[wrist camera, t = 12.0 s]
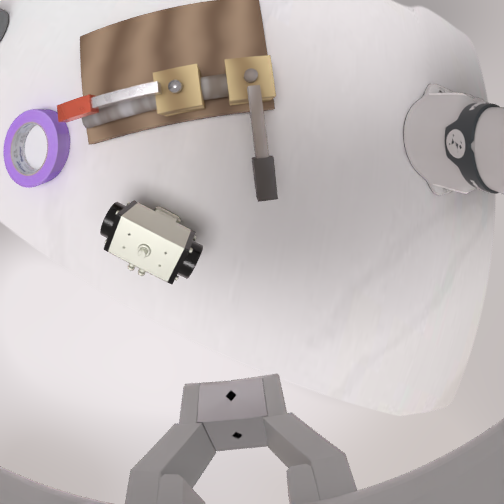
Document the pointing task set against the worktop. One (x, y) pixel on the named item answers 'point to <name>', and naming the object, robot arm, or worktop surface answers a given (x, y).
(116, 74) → the pipe board
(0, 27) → the water bottle
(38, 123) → the masking tape
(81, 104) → the red lever
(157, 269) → the pneumatic valve
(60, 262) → the worktop surface
